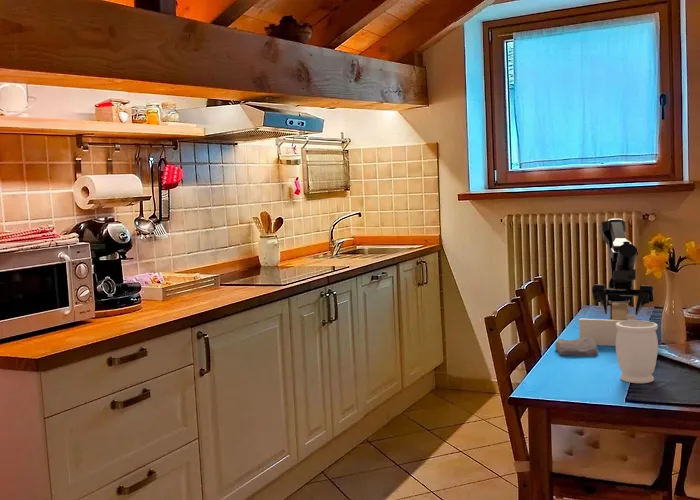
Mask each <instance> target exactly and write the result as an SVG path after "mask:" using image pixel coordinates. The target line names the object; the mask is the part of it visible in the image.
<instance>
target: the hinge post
mask: <svg viewBox="0 0 700 500" xmlns="http://www.w3.org/2000/svg"><path fill="white" fill-rule="evenodd" d="M636 316H637V315H636V314H635V313H628V314H627V320H628V319H633V320H637V319H636Z"/></svg>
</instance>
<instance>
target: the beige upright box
mask: <svg viewBox="0 0 700 500" xmlns="http://www.w3.org/2000/svg"><path fill="white" fill-rule="evenodd" d="M578 319H579V320H578V321H579V322H578V327H579V329H578V331H579V332H578V334H579V337H578V338H583V337H590V338H592V339H594V341H595V343H596V345H597V346H609V347H610V346H612V347H616V335H617V331H618V329H617V328H616V323H617V322H620V321H626V320H609V319H605V318H604V319H602V318H582V317H581V318H578Z"/></svg>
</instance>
